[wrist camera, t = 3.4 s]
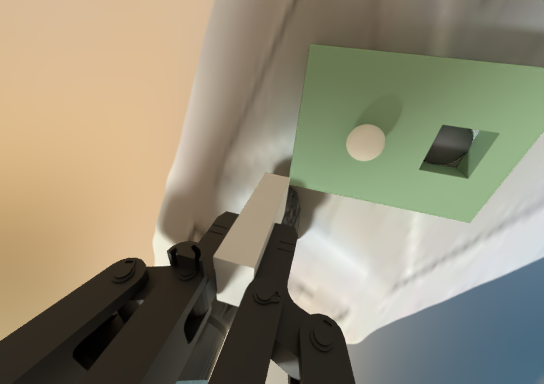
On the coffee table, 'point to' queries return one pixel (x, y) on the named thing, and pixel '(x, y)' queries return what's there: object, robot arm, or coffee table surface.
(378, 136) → the golf ball
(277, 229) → the robot arm
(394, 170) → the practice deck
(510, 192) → the coffee table surface
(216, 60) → the coffee table surface
